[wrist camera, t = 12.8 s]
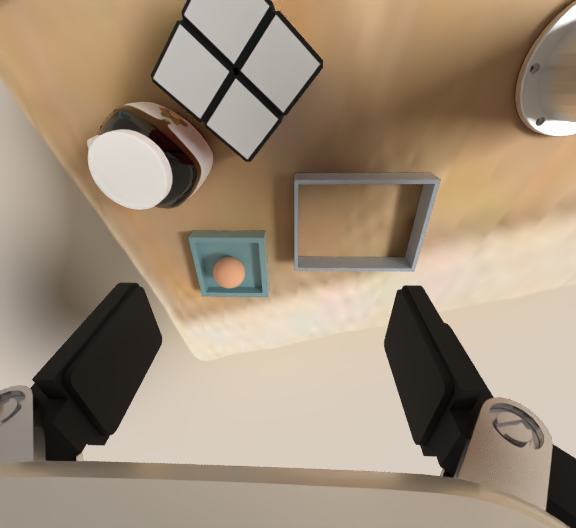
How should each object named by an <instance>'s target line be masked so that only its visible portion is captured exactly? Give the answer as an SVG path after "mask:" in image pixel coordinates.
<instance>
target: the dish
mask: <svg viewBox="0 0 576 528" xmlns="http://www.w3.org/2000/svg"><path fill="white" fill-rule="evenodd" d="M188 239H189V243H190V248H191V252H192V256H193V260H194V264H195V269H196V273H197V277H198V281H199V286H200V290H201V294H202V296H216V297H268V294H269V277H268V261H267V246H266V231H192V233H191V234H190V236H189V237H188ZM225 257H233V258H236V259H238V260H239V261H240V262H241V263H242V264H243V266H244V268H245V277H244V280H243V281H242V283H241V284H240V285H238V286H237V287H234V288H224V287H222V286H220V285H219V284H217V282H216V281H215V279H214V276H213V270H214V267H215V265H216V263H217V262H218V261H219V260H221V259H222V258H225Z"/></svg>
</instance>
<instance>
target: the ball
mask: <svg viewBox="0 0 576 528" xmlns="http://www.w3.org/2000/svg"><path fill="white" fill-rule="evenodd" d="M213 276H214V279H215V281H216V282H217V284H219V285H220V286H222V287H224V288H234V287H237V286H238V285H240V284H241V283H242V281H243V280H244V277H245V268H244V266H243V264H242V263H241V262H240V261H239V260H238V259H236V258H233V257H225V258H222V259H221V260H219V261H218V262H217V263H216V265H215V267H214V270H213Z"/></svg>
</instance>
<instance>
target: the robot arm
mask: <svg viewBox="0 0 576 528" xmlns="http://www.w3.org/2000/svg"><path fill="white" fill-rule="evenodd" d="M530 68H531V69H530ZM515 101H516V108H517V111H518V114H519V116H520V119H521V120H522V121H523V123H524V124H525V125H526V126H527V127H528V128H530V129H531V130H533V131H534V132H537V133H540V134H543V135H549V136H567V135H573V134H576V1H574V2H572V3H571V4H570V5H569V6H567V7H566V8H565V9H564V10H563V11H561V12H560V13H559V14H558V15H557V16H556V17H555V18H554V19H553V20H552V21H551V22H550V23H549V24H548V25H547V27H546V28H545V29H544V30H543V31H542V33H541V34H540V35H539V37H538V38H537V39H536V41H535V42H534V44H533V45H532V47H531V49H530V51H529V52H528V54H527V56H526V58H525V60H524V62H523V65H522V67H521V70H520V72H519V76H518V80H517V84H516V95H515ZM161 344H162V336H161V333H160V330H159V328H158V325H157V322H156V320H155V317H154V315H153V312H152V309H151V307H150V304H149V301H148V299H147V296H146V293H145V291H144V289H143V288H142V287H140V286H139V284H137V283H119V284H117V285H116V286H115V288H114V289H113V290H112V291H111V292H110V293H109V294H108V295H107V296H106V298H105V299H104V300H103V301H102V302H101V303H100V304H99V305H98V306H97V307H96V309H95V310H94V311H93V312H92V313H91V314H90V315H89V316H88V318H87V319H86V320H85V321H84V322H83V323H82V324H81V326H79V328H78V329H77V330H76V331H75V332H74V333H73V334H72V335H71V337H70V338H69V339H68V340H67V341H66V342H65V343H64V344H63V345H62V347H61V348H60V349H59V350H58V351H57V352H56V353H55V355H53V357H52V358H51V359H50V360H49V361H48V362H47V363H46V364H45V366H44V367H43V368H42V369H41V370H40V371H39V372H38V373H37V375H36V376H35V377H34V378H33V379H32V380H33V381H34V382H35V384H34V385H33V386H32V387H31V388H28V387H27V386H20V385H19V386H13V387H9V388H6V389H3V390H0V528H576V459H575V458H574V457H572V456H571V455H569V454H567V453H566V452H564V451H563V450H561V449H560V448H558V447H556V446H555V445H553V444H552V438H551V435H550V433H549V431H548V429H547V428H546V426H545V425H544V424H543V422H542V421H541V420H540V419H539V418H538V417H537V416H536V415H535V414H534V413H533V412H531V411H530V410H529V409H527V408H526V407H524V406H523V405H521V404H519V403H517V402H514V401H512V400H510V399H505V398H494V397H493V396H492V394H491V392H490V391H489V389H488V388H487V386H486V384H485V383H484V381H483V379H482V378H481V377H480V375H479V373H478V371H477V370H476V368H475V366H474V365H473V363H472V361H471V360H470V358H469V356H468V355H467V353H466V352H465V350H464V348H463V347H462V345H461V343H460V342H459V340H458V338H457V337H456V335H455V334H454V332H453V330H452V329H451V327H450V326H449V325H448V324H446V323H444V322H443V321H442V319H441V317H440V316H439V314H438V312H437V310H436V309H435V307H434V305H433V304H432V302H431V300H430V299H429V297H428V295H427V294H426V292H425V290H424V289H423V287H422V286H403V288H402V290H398V291H397V293H396V297H395V301H394V305H393V309H392V313H391V317H390V321H389V324H388V328H387V333H386V336H385V341H384V347H385V352H386V355H387V358H388V361H389V364H390V368H391V370H392V374H393V377H394V380H395V383H396V386H397V390H398V393H399V396H400V399H401V402H402V405H403V408H404V411H405V415H406V418H407V421H408V424H409V428H410V431H411V434H412V437H413V440H414V442H415V444H416V445H420V446H421V449H422V452H423V455H424V456H437V459H438V462H439V465H440V466H441V467H442V468H443V469H442V472H441V475H440V476H432V475H424V474H407V473H390V472H374V471H353V470H329V469H304V468H279V467H278V468H277V467H251V466H250V467H249V466H224V465H195V464H165V463H130V462H99V461H83V455H82V451H83V449H84V447H85V446H86V444H88V445H105V443H106V442H107V440H108V438H109V436H110V435H112V434H114V433H115V431H116V430H117V428H118V426H119V425H120V423H121V420H122V419H123V417H124V415H125V413H126V411H127V409H128V407H129V405H130V404H131V402H132V400H133V398H134V396H135V394H136V392H137V390H138V388H139V386H140V385H141V383H142V381H143V379H144V377H145V375H146V373H147V371H148V369H149V367H150V365H151V364H152V362H153V360H154V358H155V356H156V354H157V352H158V350H159V348H160V346H161Z"/></svg>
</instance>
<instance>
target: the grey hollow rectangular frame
mask: <svg viewBox="0 0 576 528" xmlns="http://www.w3.org/2000/svg"><path fill="white" fill-rule="evenodd" d="M440 180H441V179H439V178H438V177H436V176H435V175H434V174H432V173H431V172H422V173H295V176H294V270H296V271H415V268H416V264H417V261H418V257H419V254H420V250H421V247H422V243H423V240H424V236H425V233H426V229H427V226H428V222H429V219H430V215H431V212H432V208H433V205H434V201H435V198H436V194H437V191H438V187H439V184H440ZM299 184H423V188H422V192H421V196H420V200H419V204H418V208H417V212H416V216H415V220H414V224H413V227H412V231H411V235H410V239H409V243H408V247H407V251H406V255H405V257H298V187H299Z"/></svg>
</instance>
